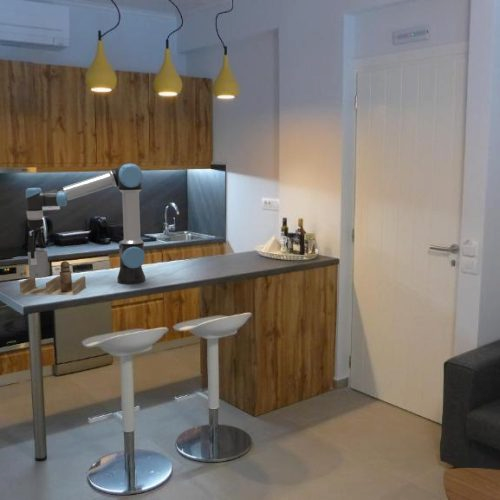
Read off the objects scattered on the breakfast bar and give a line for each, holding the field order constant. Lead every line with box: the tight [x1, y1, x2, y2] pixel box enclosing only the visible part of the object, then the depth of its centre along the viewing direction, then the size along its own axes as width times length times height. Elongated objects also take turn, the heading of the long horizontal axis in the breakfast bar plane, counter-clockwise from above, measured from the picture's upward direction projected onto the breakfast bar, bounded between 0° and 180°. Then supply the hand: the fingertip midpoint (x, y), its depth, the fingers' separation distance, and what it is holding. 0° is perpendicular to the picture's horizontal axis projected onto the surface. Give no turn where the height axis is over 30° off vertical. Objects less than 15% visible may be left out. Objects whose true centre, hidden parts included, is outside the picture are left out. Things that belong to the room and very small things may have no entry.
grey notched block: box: [27, 250, 50, 279], centre depth 314 cm, size 10×10×12 cm
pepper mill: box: [59, 260, 73, 292], centre depth 315 cm, size 6×6×16 cm
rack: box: [19, 275, 87, 296], centre depth 316 cm, size 28×16×7 cm, turn 86°
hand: (38, 262), depth 313 cm, fingers closed on grey notched block, 9 cm apart
